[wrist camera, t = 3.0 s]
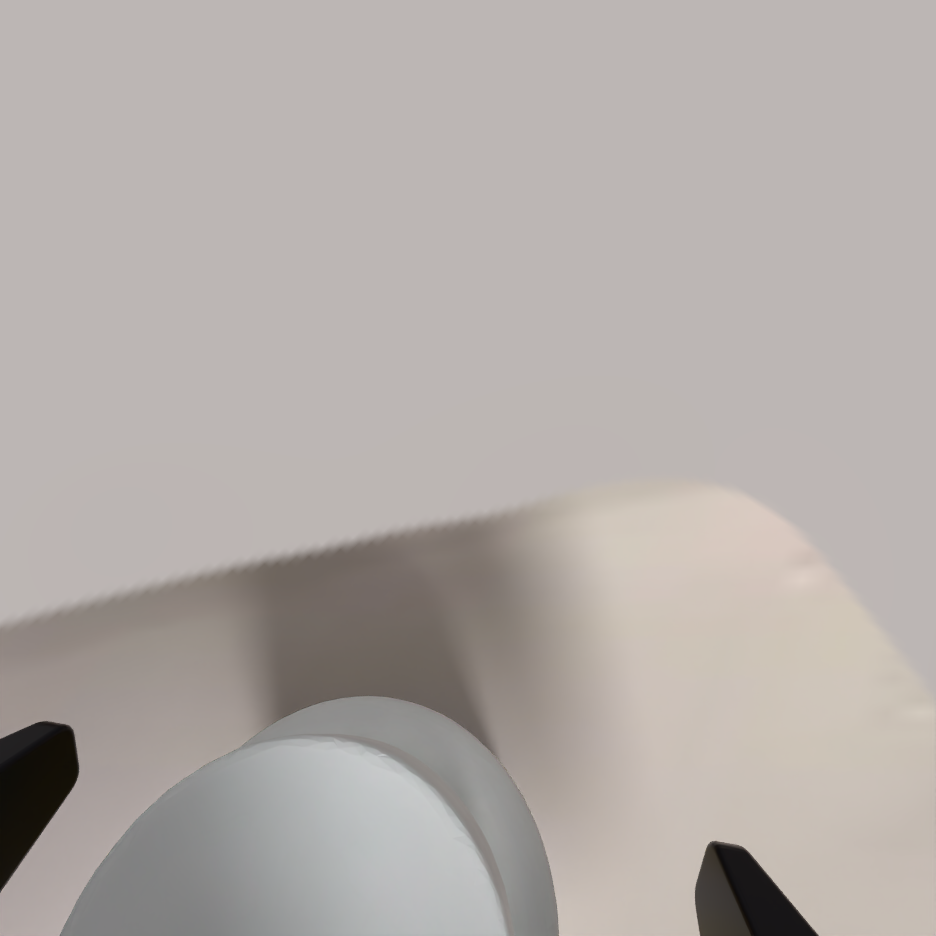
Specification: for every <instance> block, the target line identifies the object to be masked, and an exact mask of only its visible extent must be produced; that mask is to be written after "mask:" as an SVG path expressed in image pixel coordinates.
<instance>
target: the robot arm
mask: <svg viewBox="0 0 936 936" xmlns="http://www.w3.org/2000/svg"><path fill="white" fill-rule="evenodd" d="M78 775H79V762H78V755H77V748H76V742H75V735H74V731H73V729H72V728H71V727H70V726H69V725H66V724H60V723H54V722H48V721H43V722H38V723H35V724H33V725H31V726H28V727H26V728H24V729H22V730H19V731H17V732H15V733H13V734H10V735H8V736H6V737H4V738H1V739H0V892H1V890H2V889H3V888H4V886H5V885H6V884H7V882H8V881H9V879H10V878H11V876H12V875H13V873H14V872H15V871H16V869H17V868H18V866H19V865H20V863H21V862H22V861H23V859H24V858H25V856H26V855H27V853H28V852H29V850H30V849H31V848H32V846H33V845H34V843H35V842H36V840H37V839H38V838H39V836H40V835H41V833H42V832H43V830H44V829H45V827H46V826H47V825H48V823H49V822H50V820H51V819H52V817H53V816H54V815H55V813H56V812H57V810H58V809H59V807H60V806H61V804H62V803H63V802H64V800H65V799H66V797H67V796H68V794H69V793H70V792H71V790H72V788H73V787H74V785H75V783H76V781H77V778H78ZM695 905H696V913H697V919H698V925H699V931H700V936H819V935H818V934H817V933H816V932H815V931H814V930H813V928H812V927H811V926H810V925H809V924H808V922H807V921H806V920H805V919H804V918H803V916H802V915H801V914H800V913H799V912H798V910H797V909H796V908H795V907H794V906H793V904H792V903H791V902H790V901H789V900H788V898H787V897H786V896H785V895H784V894H783V892H782V891H781V890H780V889H779V888H778V886H777V885H776V884H775V883H774V882H773V880H772V879H771V878H770V877H769V876H768V874H767V873H766V872H765V871H764V870H763V868H762V867H761V866H760V865H759V864H758V862H757V861H756V860H755V859H754V858H753V856H752V855H751V854H750V853H749V852H748V851H747V850H746V849H745V848H743V847H741V846H739V845H735V844H729V843H724V842H718V841H712V842H710V843H709V844H708V846H707V848H706V851H705V855H704V858H703V862H702V865H701V869H700V872H699V876H698V879H697V882H696V887H695Z"/></svg>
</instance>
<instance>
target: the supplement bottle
mask: <svg viewBox="0 0 936 936" xmlns="http://www.w3.org/2000/svg"><path fill="white" fill-rule="evenodd" d="M60 936H559V930H558V914H557V904H556V898H555V892H554V886H553V880H552V875H551V870H550V866H549V862H548V859H547V855H546V852H545V848H544V845H543V842H542V839H541V836H540V833H539V830H538V828H537V825H536V823H535V820H534V818H533V816H532V814H531V812H530V810H529V808H528V806H527V803H526V801H525V799H524V798H523V796H522V794H521V793H520V791H519V789H518V788H517V786H516V784H515V783H514V781H513V779H512V778H511V776H510V775H509V774H508V772H507V771H506V769H505V768H504V767H503V765H502V764H501V763H500V762H499V760H498V759H497V758H496V757H495V756H494V755H493V754H492V753H491V752H490V751H489V750H488V749H487V748H486V747H485V746H484V745H483V744H482V743H481V742H480V741H479V740H478V739H477V738H476V737H475V736H474V735H472V734H471V733H470V732H468V731H467V730H466V729H465V728H463V727H462V726H460V725H459V724H458V723H456V722H455V721H453V720H451V719H450V718H448V717H446V716H444V715H443V714H441V713H439V712H436V711H434V710H432V709H429V708H427V707H425V706H422V705H419V704H416V703H412V702H409V701H405V700H401V699H395V698H390V697H381V696H356V697H347V698H339V699H335V700H330V701H325V702H321V703H318V704H315V705H312V706H309V707H306V708H304V709H301V710H299V711H297V712H295V713H293V714H290V715H288V716H286V717H284V718H282V719H280V720H278V721H277V722H275V723H274V724H272V725H270V726H269V727H267V728H266V729H264V730H262V731H261V732H259V733H258V734H257V735H255V736H254V737H253V738H251V739H250V740H248V741H247V742H246V743H245V744H244V745H242V746H241V747H240V748H238V749H236V750H234V751H232V752H230V753H228V754H226V755H224V756H222V757H220V758H218V759H216V760H214V761H212V762H210V763H209V764H207V765H205V766H203V767H202V768H200V769H199V770H197V771H196V772H194V773H192V774H191V775H189V776H188V777H186V778H185V779H183V780H182V781H180V782H179V783H178V784H176V785H175V786H173V787H172V788H170V789H169V790H168V791H167V792H166V793H164V794H163V795H162V796H161V797H160V798H159V799H158V800H157V801H156V802H155V803H154V804H153V805H151V806H150V807H149V808H148V809H147V810H146V811H145V812H144V813H143V814H142V815H141V816H140V817H139V818H138V819H137V820H136V821H135V822H134V823H133V824H132V825H131V826H130V828H129V829H128V830H127V831H126V832H125V834H124V835H123V836H122V837H121V839H120V840H119V841H118V842H117V843H116V845H115V846H114V847H113V848H112V850H111V851H110V852H109V854H108V855H107V856H106V858H105V859H104V860H103V862H102V863H101V864H100V866H99V867H98V868H97V870H96V871H95V872H94V874H93V876H92V877H91V879H90V880H89V882H88V884H87V885H86V887H85V889H84V890H83V892H82V894H81V895H80V897H79V899H78V900H77V902H76V904H75V906H74V908H73V910H72V912H71V914H70V916H69V918H68V920H67V922H66V924H65V926H64V928H63V930H62V932H61V934H60Z"/></svg>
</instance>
